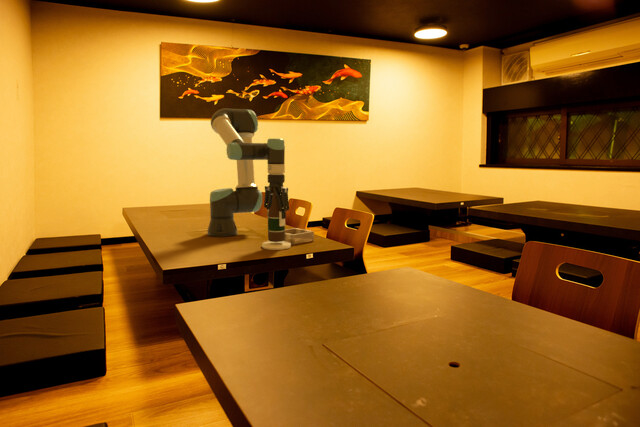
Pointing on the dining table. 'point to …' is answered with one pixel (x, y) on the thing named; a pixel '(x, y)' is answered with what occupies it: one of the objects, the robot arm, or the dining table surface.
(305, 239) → the box
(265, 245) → the ceramic plate
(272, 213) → the beer bottle
